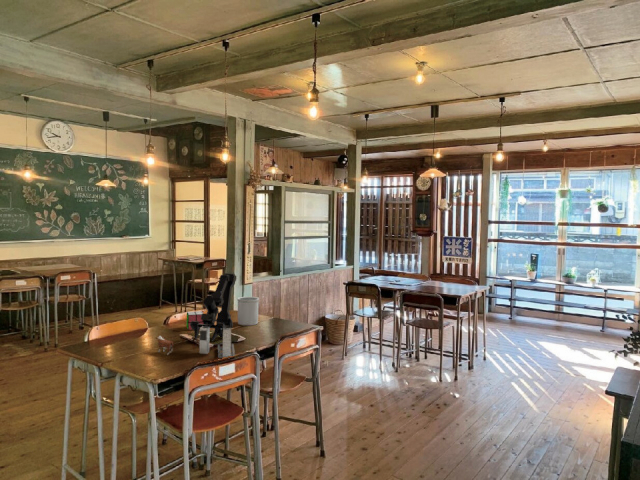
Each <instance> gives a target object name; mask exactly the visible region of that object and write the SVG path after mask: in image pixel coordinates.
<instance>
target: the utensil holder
mask: <svg viewBox="0 0 640 480" xmlns="http://www.w3.org/2000/svg"><path fill="white" fill-rule="evenodd" d="M259 303H260V297H258V296H239V297H237V324H238V325H241V326H254V325H257V324H258V323H259Z"/></svg>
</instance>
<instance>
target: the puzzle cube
mask: <svg viewBox="0 0 640 480" xmlns="http://www.w3.org/2000/svg"><path fill="white" fill-rule="evenodd" d="M202 314H204V312H203V311H202V310H201V311H200V310H199V311H197V310H195V311H187V312H186V324H185V325H186V328H187V331H193V330H192V328H191V326H190V323H191V322H192V321H198V322H199V324H203V322H202V320H201V316H202Z"/></svg>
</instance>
